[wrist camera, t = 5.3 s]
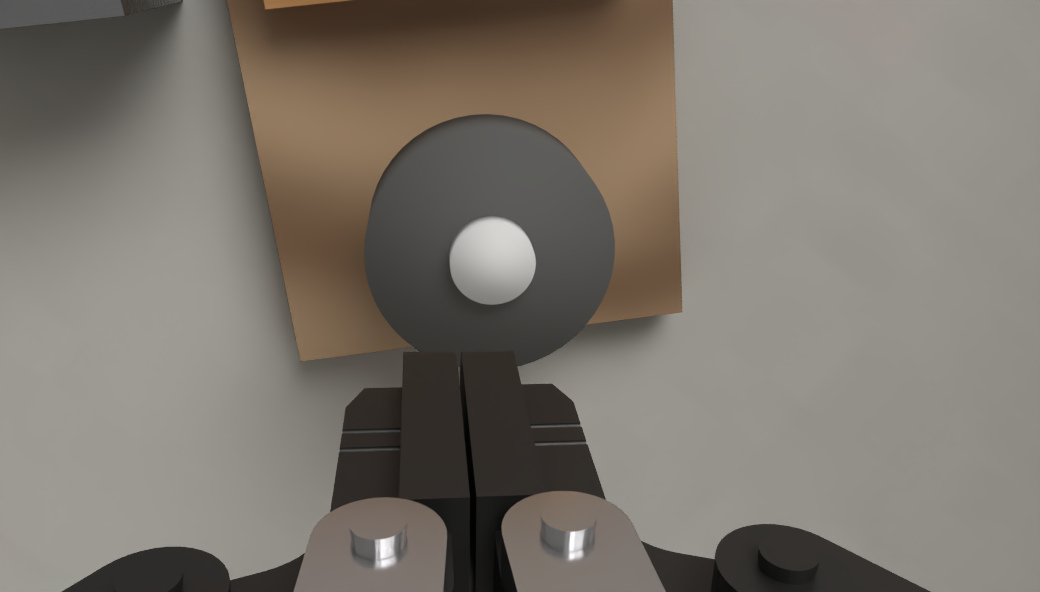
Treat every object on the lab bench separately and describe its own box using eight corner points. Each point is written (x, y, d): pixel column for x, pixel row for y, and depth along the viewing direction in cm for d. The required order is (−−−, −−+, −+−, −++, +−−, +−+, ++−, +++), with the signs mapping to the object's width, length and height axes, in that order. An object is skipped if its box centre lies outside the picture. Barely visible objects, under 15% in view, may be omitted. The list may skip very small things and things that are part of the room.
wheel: (351, 128, 23) (342, 153, 20) (590, 101, 23) (612, 121, 20) (387, 348, 25) (383, 395, 22) (605, 319, 25) (626, 363, 23)
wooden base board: (156, -407, 22) (95, -488, 18) (643, -445, 23) (693, -531, 19) (306, 341, 30) (287, 407, 25) (670, 295, 30) (710, 351, 26)
